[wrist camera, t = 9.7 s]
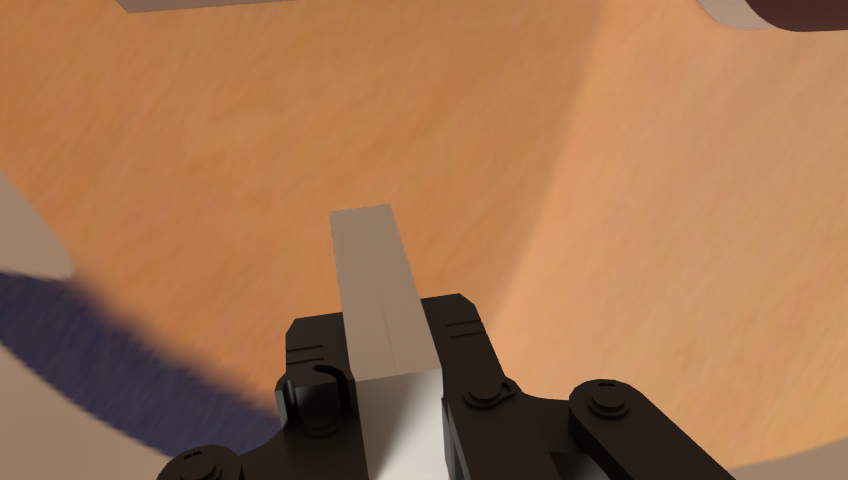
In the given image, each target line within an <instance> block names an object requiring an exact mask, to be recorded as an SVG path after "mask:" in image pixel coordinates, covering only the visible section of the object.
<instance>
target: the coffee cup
mask: <svg viewBox="0 0 848 480" xmlns="http://www.w3.org/2000/svg"><path fill="white" fill-rule="evenodd" d="M697 1H698V2H699V4H700V6H701V7H702V8H703V9H704V11H705V12H706V13H707V14H708V15H709V16H711V17H712V18H713V19H714V20H716V21H717V22H719V23H721V24H723V25H725V26H728V27H730V28H734V29H739V30H759V29H778V28H780V29H784V30H789V31H795V32H812V31H837V30H848V0H697Z"/></svg>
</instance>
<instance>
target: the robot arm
mask: <svg viewBox="0 0 848 480" xmlns="http://www.w3.org/2000/svg"><path fill="white" fill-rule="evenodd" d="M329 217H330V224H331V232H332V239H333V246H334V254H335V261H336V269H337V276H338V283H339V291H340V298H341V306H342V312H339V313H332V314H325V315H318V316H311V317H304V318H297V319H295V320H294V322H293V323H292V325H291V326H290V328H289V330H288V331H287V333H286V373H285V374H284V375H283V376H282V377H281V378H280V379H279V380H278V382H277V385H276V388H275V396H276V401H277V406H278V411H279V416H280V421H281V426H282V428H281V430H280V431H279V432H278V433H277V434H276V435H275V436H274V437H273V438H272V439H271V440H269V441H268V442H267V443H265V444H264V445H262V446H260V447H258V448H256V449H254V450H252V451H249V452H247V453H244V454H242V455H240V456H237V454H236V453H235V452H233V451H232V450H230V449H229V448H227V447H223V446H217V445H207V446H199V447H195V448H193V449H190V450H188V451H185V452H183V453H181V454H179V455H178V456H176V457H175V458H174V459H172V460H171V461H170V462H168V463H167V465H166V466H165V467H164V469H163V470H162V471H161V473H160V474H159V475H158V477H157V480H448V473H449V476H450V480H736V479H735V478H734V477H732V476H731V475H730V474H729V473H728V472H727V471H726V470H725V469H724V468H723V467H722V466H720V465H719V464H718V463H717V462H716V461H715V460H714V459H713V458H712V457H711V456H709V455H708V454H707V453H706V452H705V451H704V450H703V449H702V448H701V447H700V446H699V445H697V444H696V443H695V442H694V441H693V440H692V439H691V438H690V437H689V436H688V435H687V434H685V433H684V432H683V431H682V430H681V429H680V428H679V427H678V426H677V425H676V424H675V423H673V422H672V421H671V420H670V419H669V418H668V417H667V416H666V415H665V414H664V413H663V412H661V411H660V410H659V409H658V408H657V407H656V406H655V405H654V404H653V403H652V402H651V401H649V400H648V399H647V398H646V397H645V396H644V395H643V394H642V393H641V392H639V391H638V390H636V389H635V388H633V387H632V386H630V385H629V384H626V383H622V382H619V381H616V380H608V379H596V380H591V381H586V382H584V383H582V384H580V385H579V386H577V387H575V388H574V390H573V391H572V393H571V394H570V396H569V400H555V399H545V398H538V397H534V396H531V395H528V394H525V393H523V392H522V390H521V389H520V388H519V386H518V385H517V384H516V383H515V381H513V380H511V379H509V378H508V377H506V376H505V374H504V372H503V370H502V367H501V365H500V363H499V361H498V358H497V356H496V354H495V351H494V349H493V347H492V344H491V342H490V340H489V337H488V335H487V334H486V330H485V328H484V326H483V323H482V322H481V319H480V316H479V314H478V312H477V309H476V307H475V305H474V304H473V303H471V302H470V301H469V300H468V299H466V298H465V297H464V296H462V295H461V294H460V293H458V294H451V295H444V296H437V297H431V298H424V299H420V297H419V294H418V291H417V288H416V285H415V281H414V278H413V275H412V272H411V269H410V266H409V262H408V259H407V256H406V253H405V250H404V247H403V243H402V240H401V237H400V234H399V231H398V227H397V224H396V221H395V218H394V215H393V212H392V208H391V205H390V204H387V205H379V206H371V207H364V208H356V209H348V210H340V211H333V212H329Z"/></svg>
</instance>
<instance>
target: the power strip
mask: <svg viewBox="0 0 848 480" xmlns="http://www.w3.org/2000/svg"><path fill="white" fill-rule="evenodd" d="M115 1H116V2H117V3H118V4H119V5H120V6H121V7H122V8H123V9H124V10H125V11H126V12H127V13H135V12H148V11H161V10H174V9H187V8H200V7H212V6H225V5H238V4H251V3H264V2H277V1H290V0H115Z"/></svg>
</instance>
